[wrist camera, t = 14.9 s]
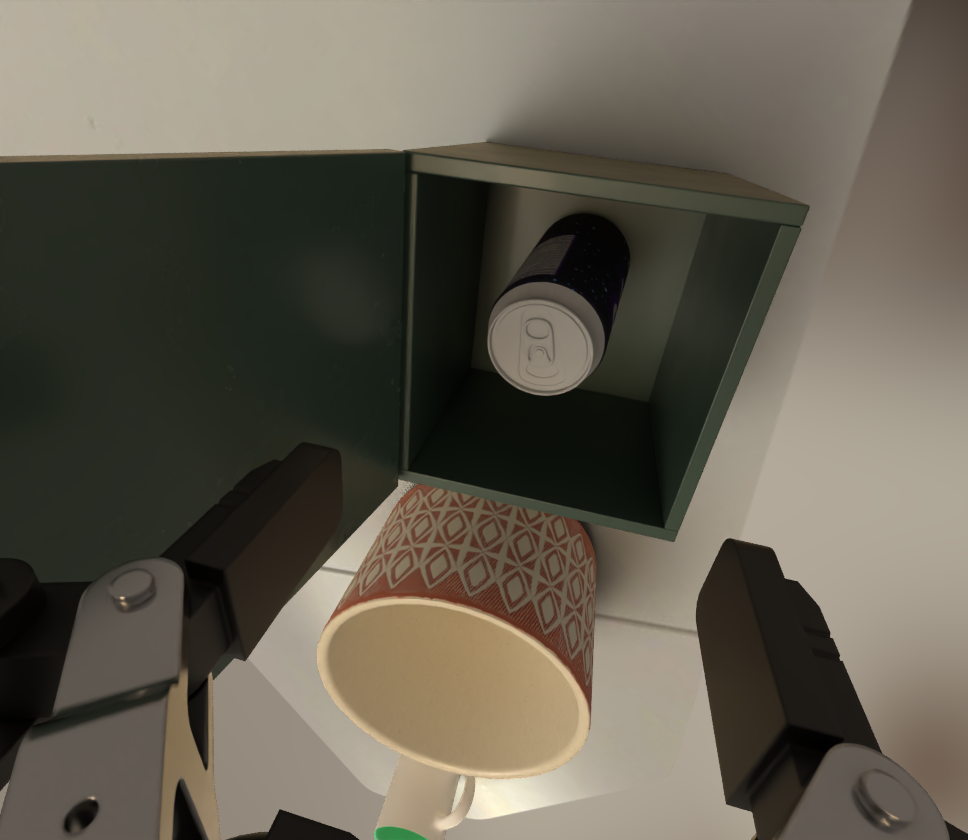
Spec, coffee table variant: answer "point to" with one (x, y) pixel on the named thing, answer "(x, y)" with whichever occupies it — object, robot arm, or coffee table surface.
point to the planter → (468, 636)
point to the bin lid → (190, 341)
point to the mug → (422, 803)
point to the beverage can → (560, 306)
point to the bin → (632, 344)
